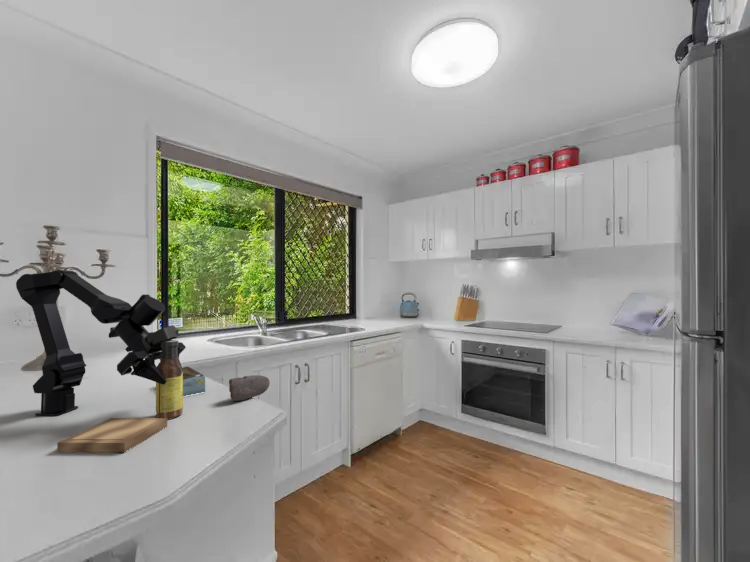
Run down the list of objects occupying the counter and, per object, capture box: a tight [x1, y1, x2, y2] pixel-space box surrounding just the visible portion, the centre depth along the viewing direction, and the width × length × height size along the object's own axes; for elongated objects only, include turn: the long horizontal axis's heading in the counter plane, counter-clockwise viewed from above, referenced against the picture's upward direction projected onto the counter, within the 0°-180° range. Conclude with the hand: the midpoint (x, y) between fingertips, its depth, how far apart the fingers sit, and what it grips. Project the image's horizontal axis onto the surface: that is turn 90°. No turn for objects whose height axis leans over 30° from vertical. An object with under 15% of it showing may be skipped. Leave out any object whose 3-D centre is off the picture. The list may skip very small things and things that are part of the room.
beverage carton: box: [182, 366, 206, 396], centre depth 117 cm, size 8×19×7 cm, turn 43°
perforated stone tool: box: [228, 374, 271, 402], centre depth 108 cm, size 15×5×7 cm, turn 144°
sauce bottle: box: [155, 339, 184, 420], centre depth 92 cm, size 6×6×20 cm
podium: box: [56, 417, 168, 454], centre depth 78 cm, size 14×14×2 cm
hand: (174, 379), depth 92 cm, fingers open, 6 cm apart
